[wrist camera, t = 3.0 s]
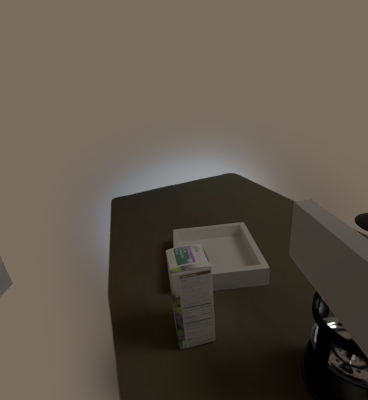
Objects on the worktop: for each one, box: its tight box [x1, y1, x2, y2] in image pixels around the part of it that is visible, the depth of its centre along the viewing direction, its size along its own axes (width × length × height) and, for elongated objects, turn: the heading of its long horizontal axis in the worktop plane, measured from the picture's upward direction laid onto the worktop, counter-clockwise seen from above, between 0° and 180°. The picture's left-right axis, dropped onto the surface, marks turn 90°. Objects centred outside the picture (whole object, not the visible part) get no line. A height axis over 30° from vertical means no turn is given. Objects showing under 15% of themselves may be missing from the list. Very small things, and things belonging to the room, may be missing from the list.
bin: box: [174, 222, 270, 291], centre depth 54 cm, size 18×18×4 cm
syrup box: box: [166, 244, 216, 349], centre depth 36 cm, size 6×6×14 cm
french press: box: [302, 213, 368, 400], centre depth 25 cm, size 12×9×23 cm
